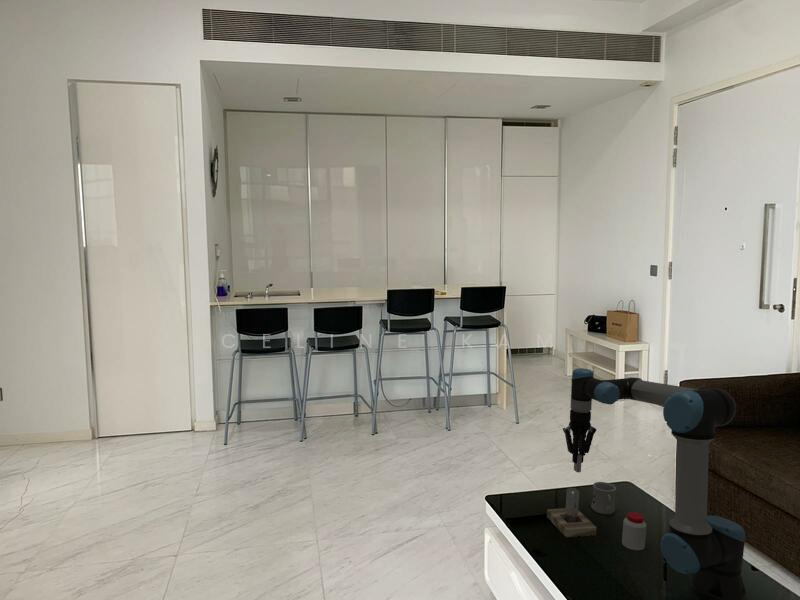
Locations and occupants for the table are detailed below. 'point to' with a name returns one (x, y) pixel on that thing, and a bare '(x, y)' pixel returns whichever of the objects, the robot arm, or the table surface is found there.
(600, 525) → the table surface
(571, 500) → the grey cylindrical peg
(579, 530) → the jig
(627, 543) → the pill bottle
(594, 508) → the mug
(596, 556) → the table surface
